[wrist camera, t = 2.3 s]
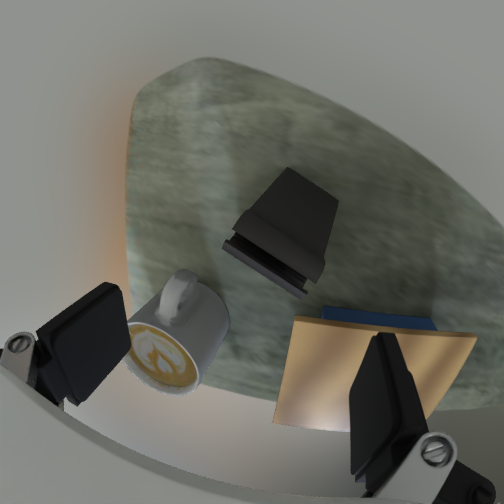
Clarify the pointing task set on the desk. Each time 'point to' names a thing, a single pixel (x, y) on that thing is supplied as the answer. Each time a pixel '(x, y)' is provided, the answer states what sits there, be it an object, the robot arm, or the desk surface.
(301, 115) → the desk surface
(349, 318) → the blue box
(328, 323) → the oak board
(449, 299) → the desk surface
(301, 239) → the phone stand
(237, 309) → the desk surface
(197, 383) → the coffee mug
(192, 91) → the desk surface
